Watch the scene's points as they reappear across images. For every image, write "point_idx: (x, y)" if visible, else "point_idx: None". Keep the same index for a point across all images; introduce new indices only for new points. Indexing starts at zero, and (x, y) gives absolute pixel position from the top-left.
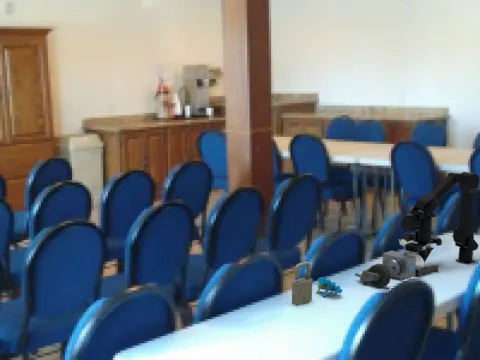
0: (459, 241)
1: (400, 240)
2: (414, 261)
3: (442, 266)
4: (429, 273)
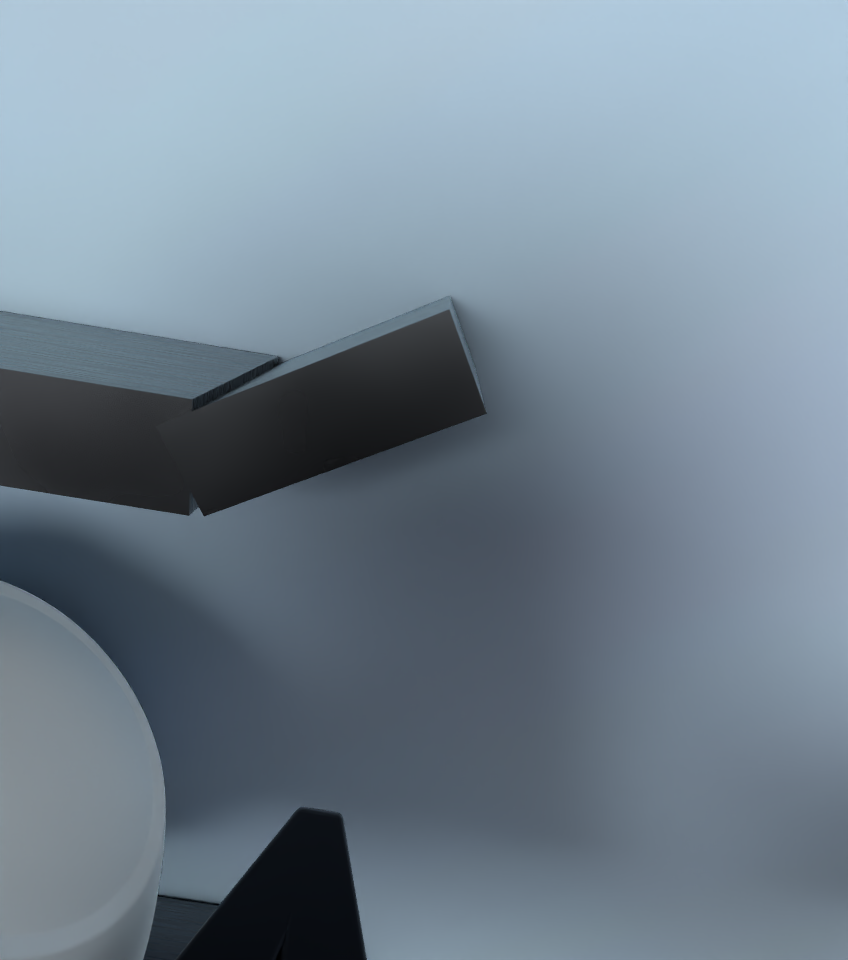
0: None
1: None
2: None
3: (782, 943)
4: None
